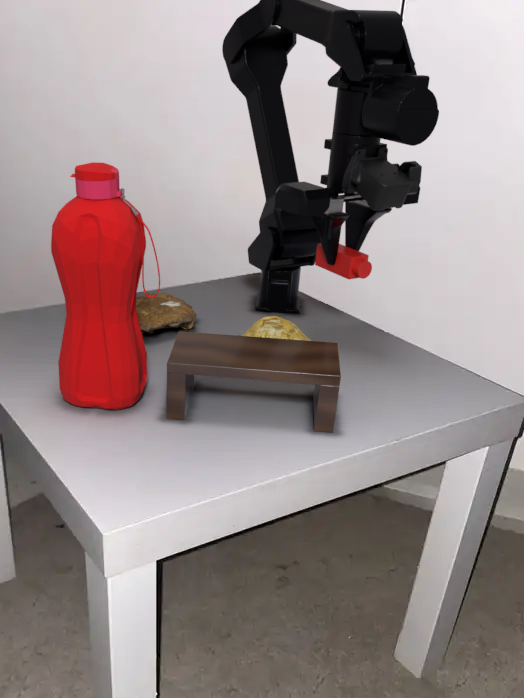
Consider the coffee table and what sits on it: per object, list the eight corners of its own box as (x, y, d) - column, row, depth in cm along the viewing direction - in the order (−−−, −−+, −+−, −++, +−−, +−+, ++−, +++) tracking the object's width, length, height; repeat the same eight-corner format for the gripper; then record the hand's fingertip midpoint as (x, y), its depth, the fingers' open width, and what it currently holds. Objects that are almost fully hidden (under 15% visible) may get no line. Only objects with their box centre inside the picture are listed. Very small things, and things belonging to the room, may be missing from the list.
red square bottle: (314, 265, 102) (316, 243, 101) (331, 262, 103) (333, 241, 102) (354, 282, 96) (357, 260, 95) (372, 279, 97) (375, 257, 96)
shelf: (177, 383, 92) (178, 331, 88) (330, 395, 90) (337, 342, 86) (166, 418, 84) (166, 362, 81) (333, 432, 82) (341, 376, 79)
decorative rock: (125, 357, 99) (210, 334, 107) (126, 327, 96) (213, 306, 105) (74, 326, 105) (158, 307, 114) (74, 298, 103) (160, 280, 112)
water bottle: (151, 418, 84) (151, 177, 71) (53, 409, 85) (36, 170, 72) (165, 382, 92) (168, 159, 79) (76, 374, 93) (64, 153, 80)
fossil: (285, 328, 91) (223, 307, 97) (274, 377, 93) (214, 353, 99) (337, 328, 99) (277, 309, 105) (326, 373, 101) (267, 351, 107)
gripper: (338, 147, 82) (321, 291, 90) (464, 138, 90) (438, 270, 98) (277, 133, 90) (267, 265, 98) (397, 125, 98) (379, 248, 106)
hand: (340, 262), depth 100 cm, fingers closed on red square bottle, 3 cm apart
